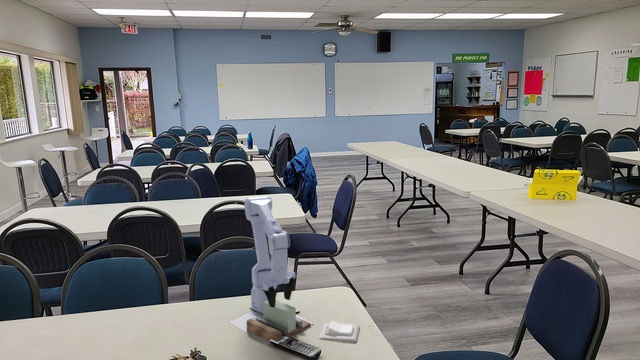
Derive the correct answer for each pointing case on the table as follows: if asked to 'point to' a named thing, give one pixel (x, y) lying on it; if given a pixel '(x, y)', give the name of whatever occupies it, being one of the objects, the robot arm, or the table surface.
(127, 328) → the table surface
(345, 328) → the light switch
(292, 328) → the pale green foam block
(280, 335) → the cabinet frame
